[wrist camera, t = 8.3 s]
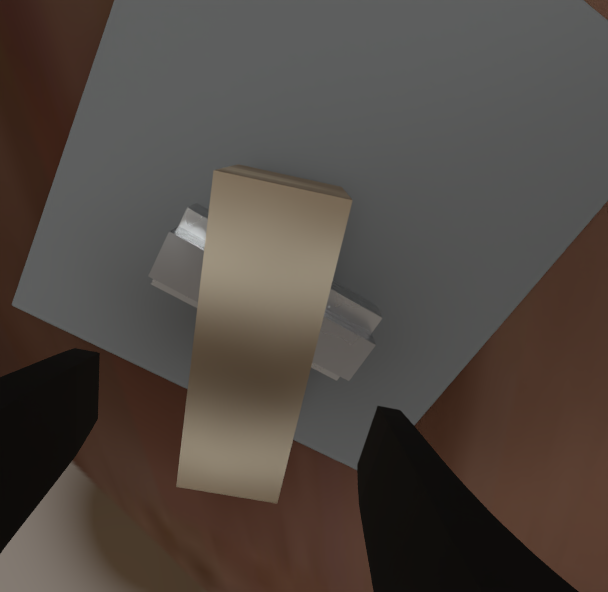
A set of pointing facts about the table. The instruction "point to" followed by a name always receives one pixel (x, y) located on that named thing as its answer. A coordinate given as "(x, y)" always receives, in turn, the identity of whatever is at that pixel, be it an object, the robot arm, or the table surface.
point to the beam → (257, 326)
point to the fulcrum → (337, 318)
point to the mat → (333, 172)
